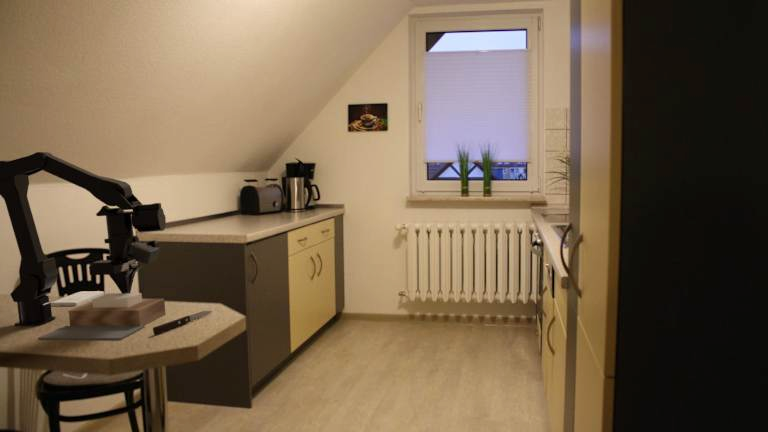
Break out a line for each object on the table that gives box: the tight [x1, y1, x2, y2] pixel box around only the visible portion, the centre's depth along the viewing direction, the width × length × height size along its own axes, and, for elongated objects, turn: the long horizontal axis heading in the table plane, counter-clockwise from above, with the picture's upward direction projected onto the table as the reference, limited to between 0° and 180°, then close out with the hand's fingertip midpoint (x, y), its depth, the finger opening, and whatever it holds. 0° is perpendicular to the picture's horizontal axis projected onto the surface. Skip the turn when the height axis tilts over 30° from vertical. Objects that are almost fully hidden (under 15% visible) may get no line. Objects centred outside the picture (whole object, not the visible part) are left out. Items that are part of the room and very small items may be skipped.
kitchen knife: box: [152, 310, 213, 336], centre depth 142 cm, size 18×1×2 cm, turn 153°
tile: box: [91, 292, 143, 308], centre depth 148 cm, size 9×6×2 cm, turn 80°
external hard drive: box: [50, 290, 106, 307], centre depth 173 cm, size 2×8×12 cm
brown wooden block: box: [68, 298, 166, 327], centre depth 148 cm, size 18×11×4 cm, turn 80°
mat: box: [38, 325, 145, 341], centre depth 138 cm, size 20×9×1 cm, turn 80°
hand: (126, 296), depth 152 cm, fingers closed
